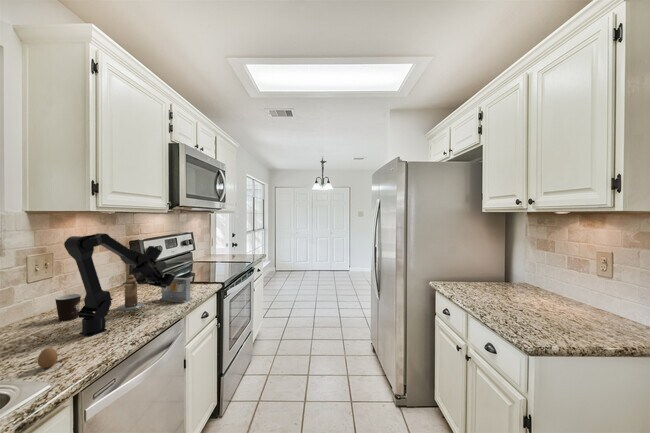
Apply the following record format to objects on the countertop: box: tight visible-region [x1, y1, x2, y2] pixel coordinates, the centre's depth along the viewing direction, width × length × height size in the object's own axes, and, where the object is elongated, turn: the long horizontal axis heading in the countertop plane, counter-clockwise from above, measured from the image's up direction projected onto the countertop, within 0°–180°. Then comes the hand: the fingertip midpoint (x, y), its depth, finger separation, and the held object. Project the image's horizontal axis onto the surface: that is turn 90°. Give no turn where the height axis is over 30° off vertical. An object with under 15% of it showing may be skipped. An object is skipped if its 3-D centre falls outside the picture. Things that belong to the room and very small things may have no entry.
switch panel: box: [159, 276, 193, 304], centre depth 155 cm, size 6×16×12 cm, turn 76°
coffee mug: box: [54, 293, 82, 322], centre depth 129 cm, size 12×9×10 cm
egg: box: [37, 347, 59, 369], centre depth 88 cm, size 4×4×6 cm
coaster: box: [117, 301, 145, 312], centre depth 144 cm, size 11×11×1 cm
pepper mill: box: [124, 274, 138, 308], centre depth 144 cm, size 5×5×16 cm
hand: (165, 287), depth 148 cm, fingers closed
